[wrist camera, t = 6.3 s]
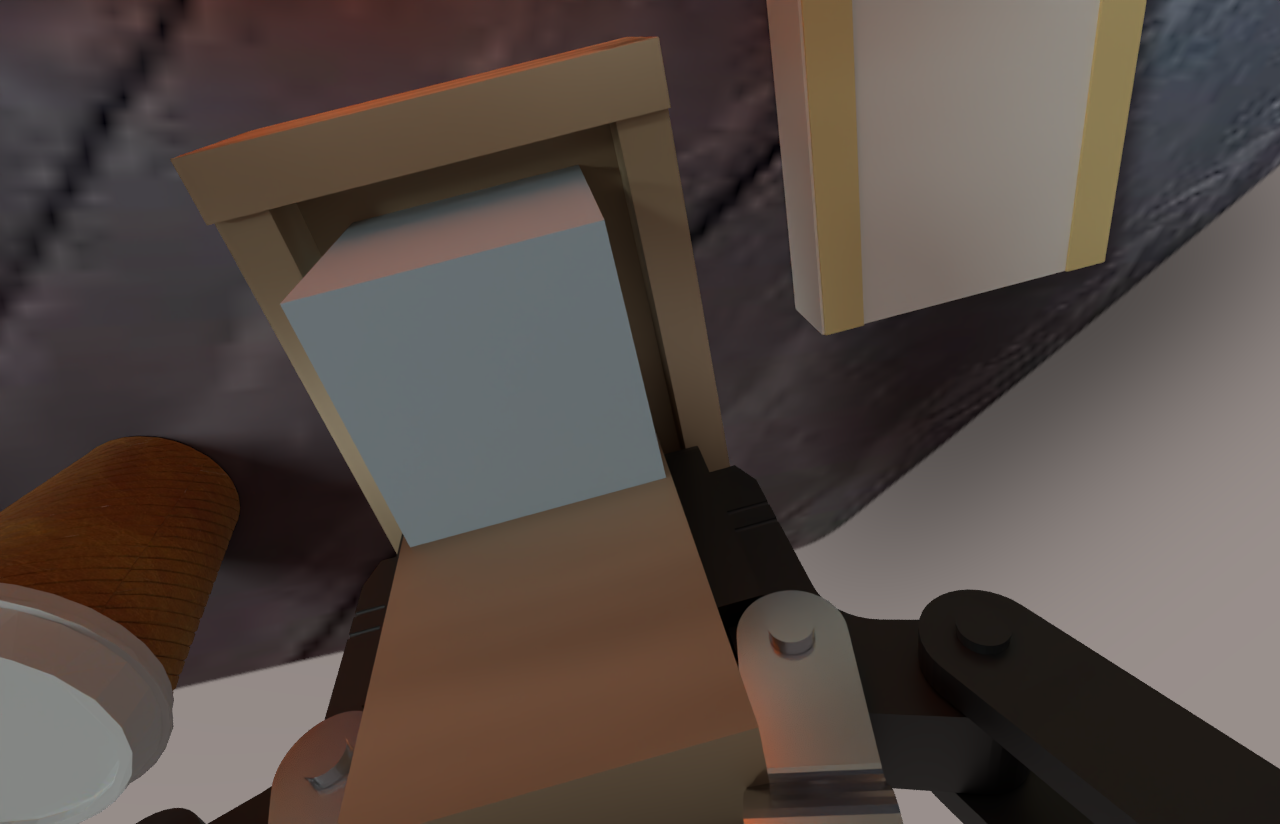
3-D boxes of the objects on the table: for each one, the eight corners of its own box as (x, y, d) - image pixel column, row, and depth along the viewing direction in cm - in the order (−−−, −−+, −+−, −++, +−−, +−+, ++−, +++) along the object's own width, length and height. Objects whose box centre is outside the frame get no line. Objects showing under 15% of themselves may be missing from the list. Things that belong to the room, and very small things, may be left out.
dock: (765, -7, 23) (798, -14, 20) (1091, -88, 23) (1166, -105, 20) (795, 308, 29) (823, 336, 26) (1053, 241, 29) (1106, 261, 27)
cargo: (352, 222, 10) (279, 304, 7) (578, 164, 10) (604, 220, 7) (438, 416, 11) (410, 546, 8) (628, 365, 11) (666, 477, 8)
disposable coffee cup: (304, 445, 28) (179, 673, 18) (252, 599, 32) (124, 863, 22) (43, 366, 25) (-290, 591, 15) (18, 547, 29) (-264, 830, 18)
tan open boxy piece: (249, 130, 10) (-453, 376, 3) (627, 37, 10) (893, 36, 3) (522, 690, 17) (525, 1165, 10) (740, 628, 17) (900, 1051, 10)
